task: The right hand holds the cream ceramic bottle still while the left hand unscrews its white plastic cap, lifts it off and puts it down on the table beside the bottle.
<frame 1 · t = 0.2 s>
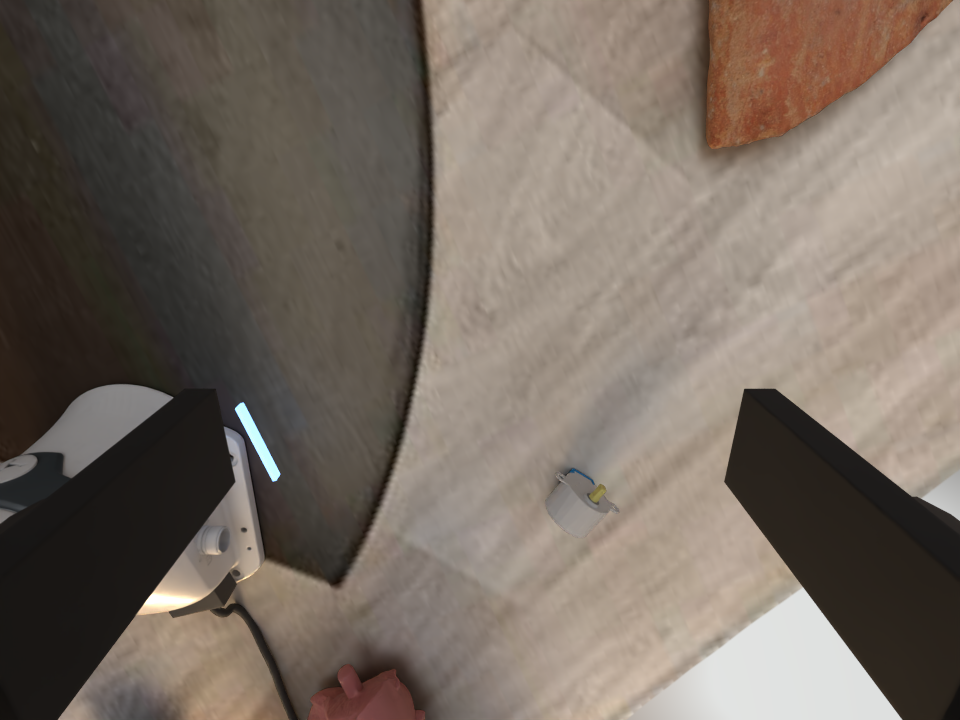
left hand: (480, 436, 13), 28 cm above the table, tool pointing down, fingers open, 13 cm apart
electric motor: (576, 478, 47), on the table
ceramic shard: (811, 14, 33), on the table
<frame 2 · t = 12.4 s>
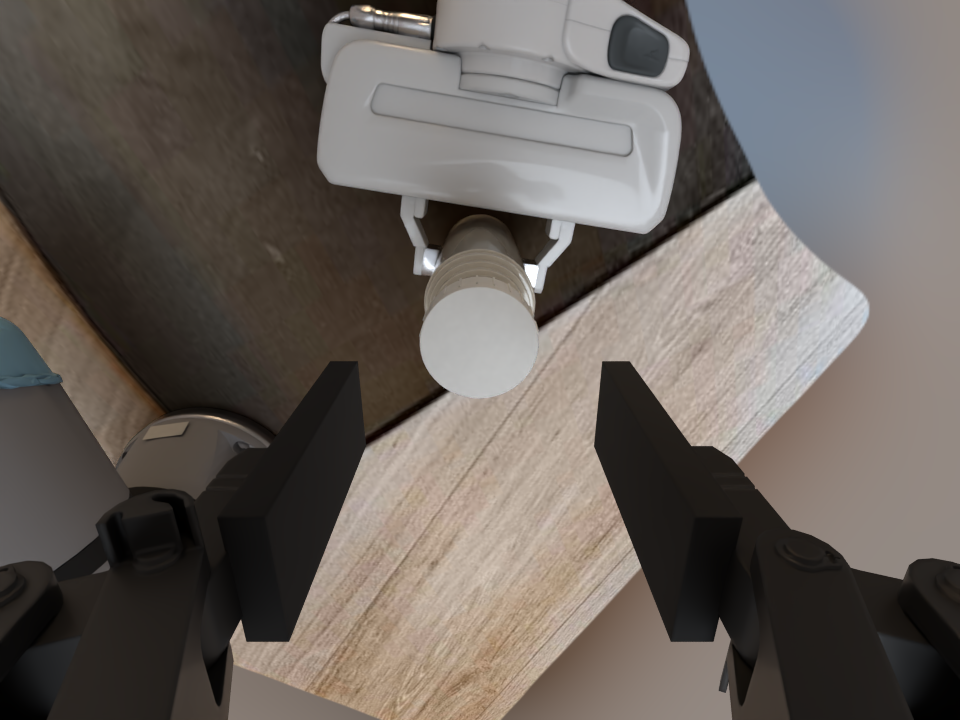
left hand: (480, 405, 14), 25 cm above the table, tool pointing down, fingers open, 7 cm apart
right hand: (478, 282, 32), fingers closed on bottle, 5 cm apart
cap: (479, 342, 19), point 20 cm above the table, screwed on, not yet turned
bottle: (479, 250, 38), on the table, touching right hand
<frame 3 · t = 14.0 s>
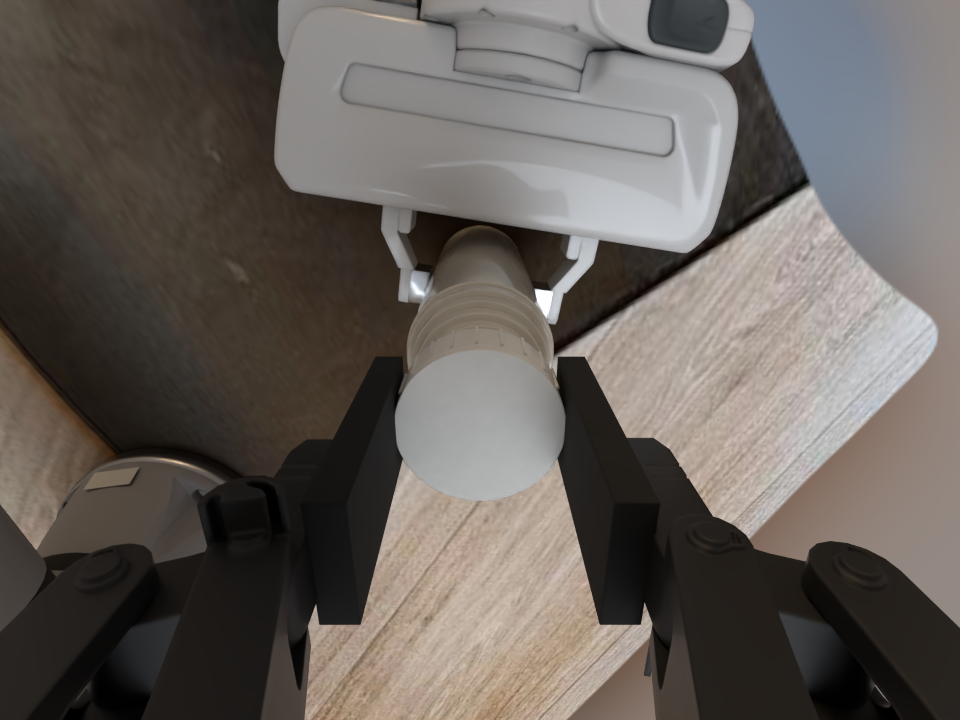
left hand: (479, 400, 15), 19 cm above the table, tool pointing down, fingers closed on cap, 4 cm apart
right hand: (478, 310, 26), fingers closed on bottle, 5 cm apart
cap: (480, 424, 13), point 20 cm above the table, screwed on, not yet turned, touching left hand
bottle: (480, 268, 32), on the table, touching right hand
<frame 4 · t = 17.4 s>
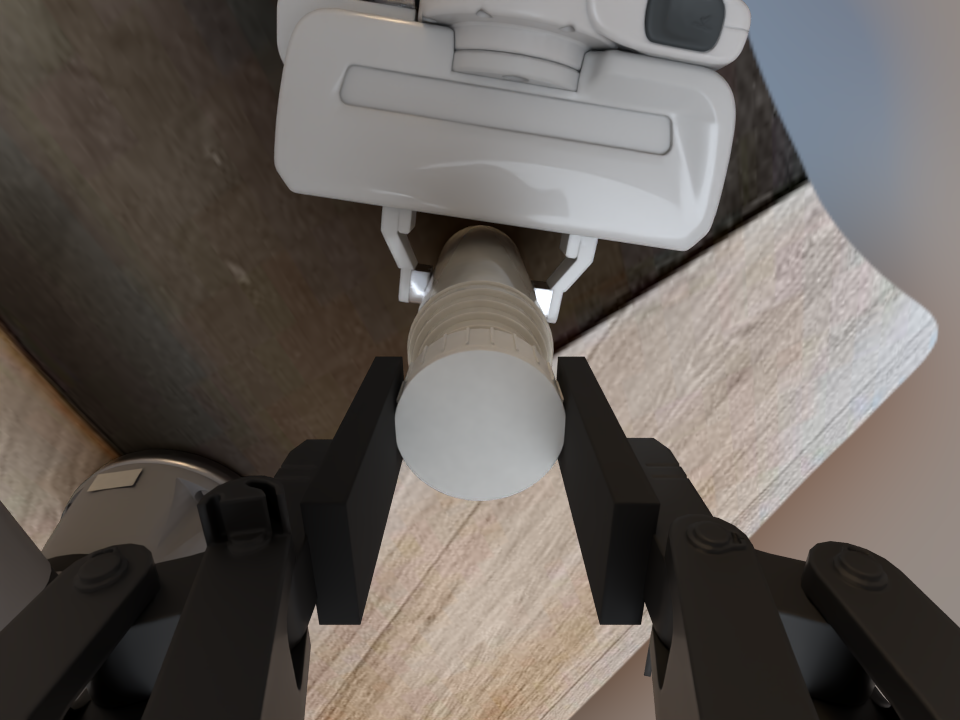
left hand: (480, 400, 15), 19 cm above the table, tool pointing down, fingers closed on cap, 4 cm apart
right hand: (478, 309, 27), fingers closed on bottle, 5 cm apart
cap: (480, 424, 13), point 20 cm above the table, turned 88° so far, risen 0.1 cm, still on its thread, touching left hand
bottle: (480, 268, 32), on the table, touching right hand
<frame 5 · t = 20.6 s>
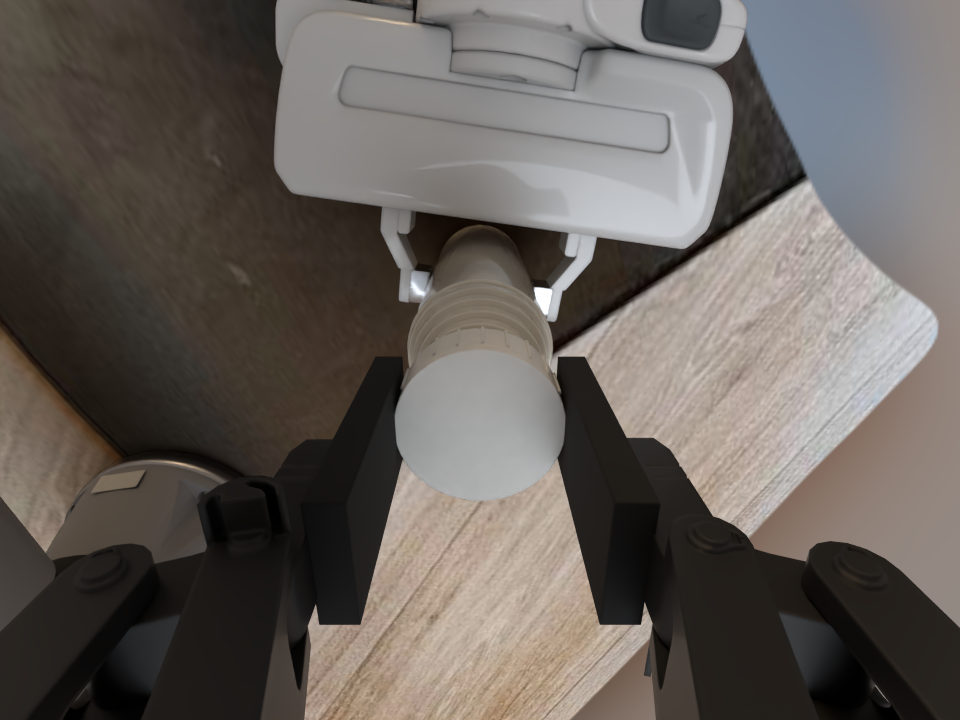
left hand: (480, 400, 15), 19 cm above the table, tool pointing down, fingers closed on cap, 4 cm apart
right hand: (478, 309, 27), fingers closed on bottle, 5 cm apart
cap: (480, 424, 13), point 20 cm above the table, turned 175° so far, risen 0.2 cm, still on its thread, touching left hand
bottle: (479, 267, 32), on the table, touching right hand
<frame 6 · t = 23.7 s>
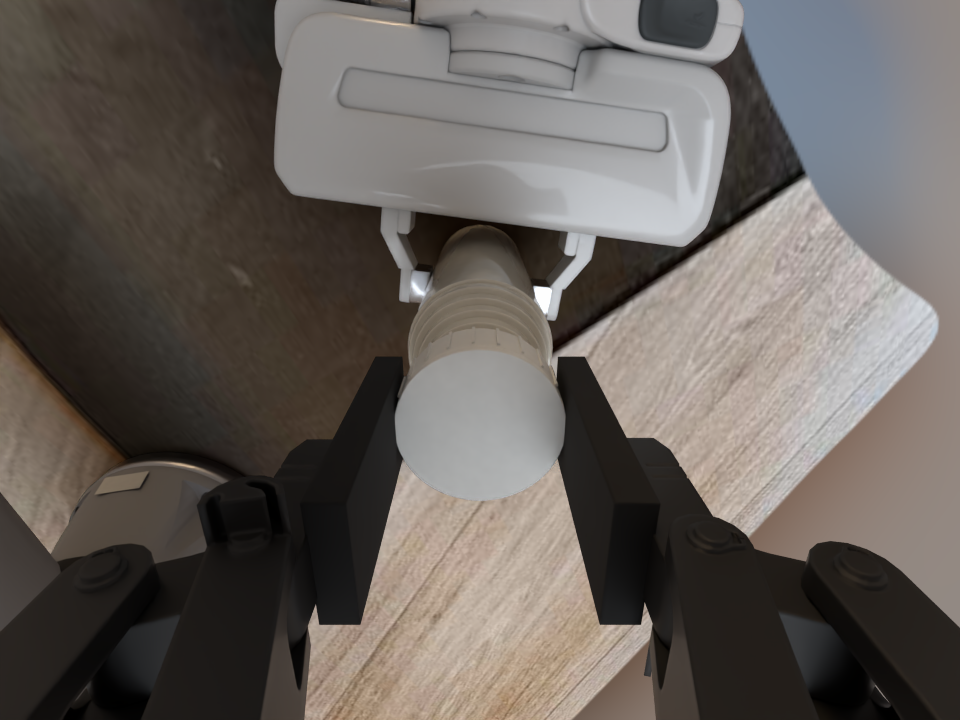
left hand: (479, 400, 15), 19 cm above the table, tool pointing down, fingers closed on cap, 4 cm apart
right hand: (478, 308, 27), fingers closed on bottle, 5 cm apart
cap: (480, 424, 13), point 20 cm above the table, turned 263° so far, risen 0.3 cm, still on its thread, touching left hand
bottle: (480, 267, 32), on the table, touching right hand
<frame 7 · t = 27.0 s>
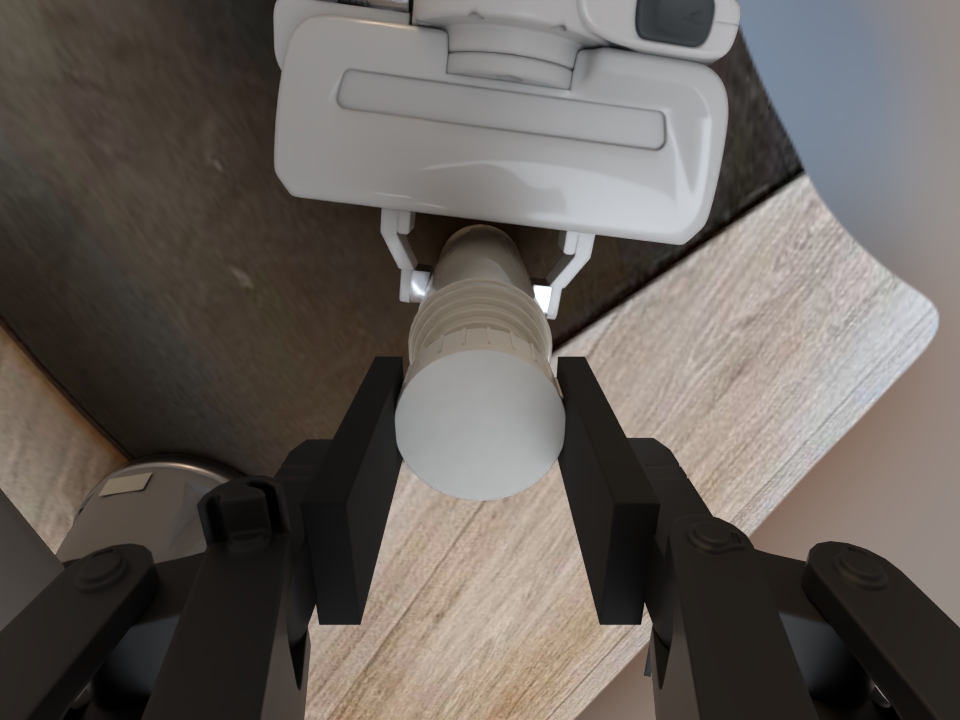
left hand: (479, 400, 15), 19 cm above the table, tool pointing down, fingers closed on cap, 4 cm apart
right hand: (478, 308, 27), fingers closed on bottle, 5 cm apart
cap: (480, 424, 13), point 20 cm above the table, turned 350° so far, risen 0.4 cm, still on its thread, touching left hand
bottle: (480, 266, 32), on the table, touching right hand
when the left hand's fingers open (1 cm above the table, at t = 38.5 s): cap stays where it is, point 1 cm above the table.
when the right hand's fingers open (6 cm above the table, at t = 39.8 s): bottle stays where it is, on the table.
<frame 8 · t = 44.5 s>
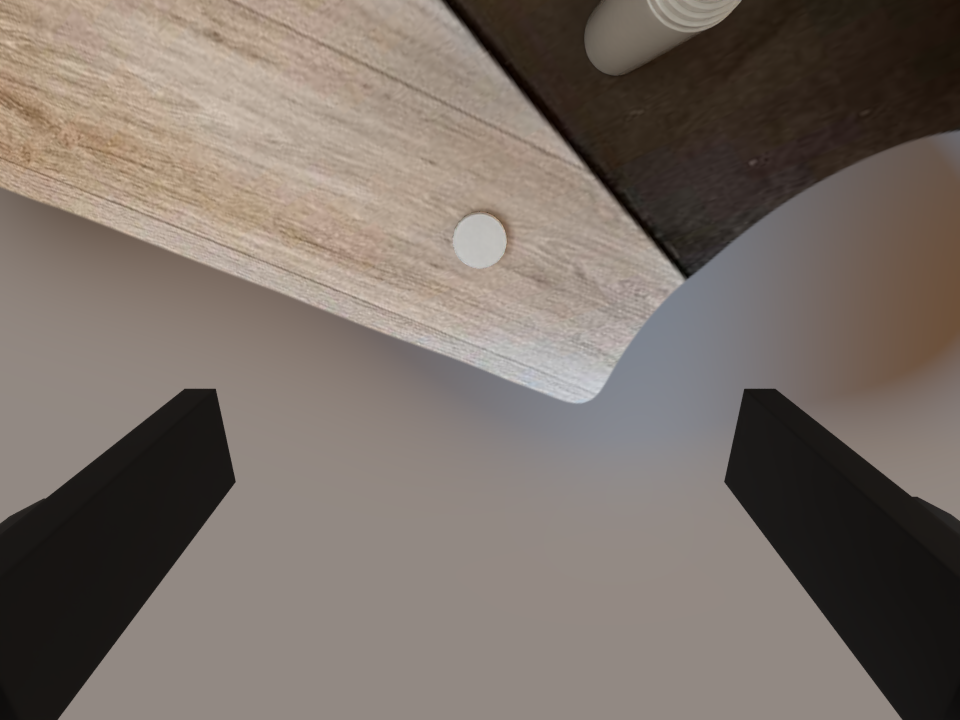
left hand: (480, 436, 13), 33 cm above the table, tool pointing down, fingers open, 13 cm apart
cap: (479, 241, 43), point 1 cm above the table, off its thread
bottle: (619, 35, 38), on the table
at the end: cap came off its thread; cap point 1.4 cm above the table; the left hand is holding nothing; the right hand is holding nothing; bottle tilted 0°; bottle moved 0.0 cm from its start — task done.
